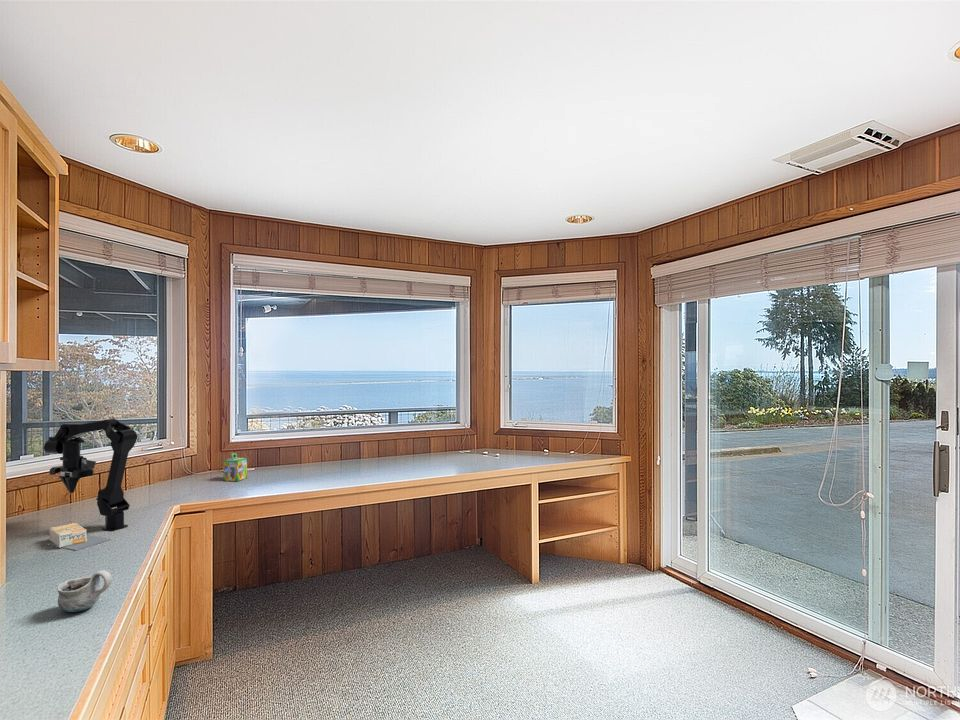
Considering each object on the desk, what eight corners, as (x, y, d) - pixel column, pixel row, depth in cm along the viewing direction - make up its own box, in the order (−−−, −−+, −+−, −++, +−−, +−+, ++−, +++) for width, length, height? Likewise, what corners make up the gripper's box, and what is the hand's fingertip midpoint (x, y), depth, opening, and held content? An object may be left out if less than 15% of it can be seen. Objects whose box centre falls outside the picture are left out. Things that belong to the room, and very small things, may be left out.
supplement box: (75, 521, 205) (87, 528, 197) (75, 534, 205) (87, 542, 197) (48, 527, 199) (59, 534, 191) (48, 540, 199) (59, 548, 191)
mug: (68, 603, 148) (68, 566, 148) (119, 598, 152) (119, 562, 152) (49, 619, 139) (49, 580, 139) (105, 613, 142) (104, 575, 142)
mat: (110, 540, 200) (110, 539, 200) (76, 550, 189) (76, 549, 189) (83, 534, 206) (83, 533, 206) (47, 544, 195) (47, 543, 195)
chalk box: (237, 481, 294) (237, 454, 294) (222, 481, 295) (222, 454, 295) (247, 478, 303) (247, 451, 303) (233, 477, 305) (233, 451, 304)
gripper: (107, 452, 222) (107, 490, 222) (78, 449, 229) (78, 486, 229) (78, 457, 212) (78, 496, 212) (48, 453, 219) (48, 492, 219)
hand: (71, 492), depth 218 cm, fingers closed
